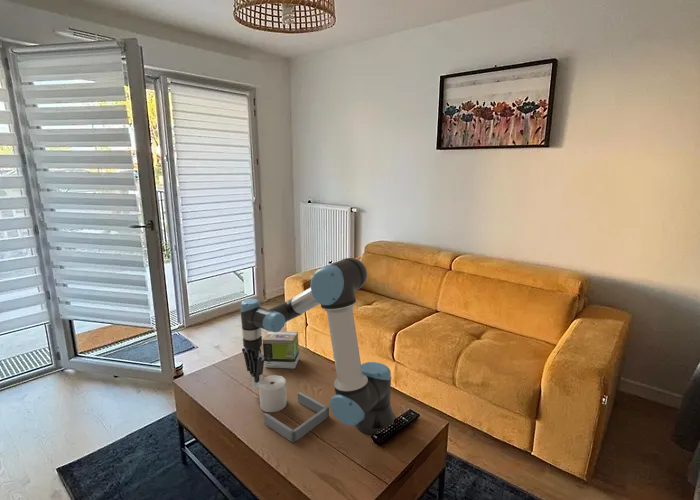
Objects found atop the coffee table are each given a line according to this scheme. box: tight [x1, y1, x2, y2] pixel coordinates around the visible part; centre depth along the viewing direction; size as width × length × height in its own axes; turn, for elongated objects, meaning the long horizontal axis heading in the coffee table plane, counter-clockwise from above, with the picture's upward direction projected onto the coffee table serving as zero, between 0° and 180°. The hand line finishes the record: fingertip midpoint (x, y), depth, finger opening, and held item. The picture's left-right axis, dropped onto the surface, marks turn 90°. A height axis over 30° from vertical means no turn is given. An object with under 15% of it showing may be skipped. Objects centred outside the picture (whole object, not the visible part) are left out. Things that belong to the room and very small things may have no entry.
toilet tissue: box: [258, 374, 287, 413], centre depth 156 cm, size 11×12×10 cm
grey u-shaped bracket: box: [263, 391, 330, 444], centre depth 148 cm, size 16×18×4 cm
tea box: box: [262, 330, 300, 369], centre depth 187 cm, size 15×10×15 cm, turn 84°
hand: (255, 387), depth 163 cm, fingers closed
